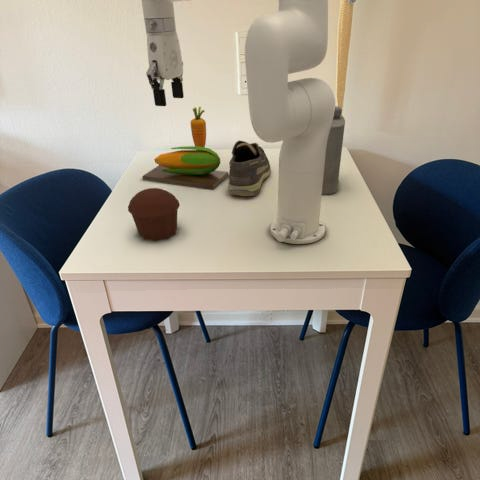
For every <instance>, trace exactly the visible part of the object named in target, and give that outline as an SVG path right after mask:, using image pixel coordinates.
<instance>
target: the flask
mask: <svg viewBox="0 0 480 480" xmlns="http://www.w3.org/2000/svg"><path fill="white" fill-rule="evenodd" d="M342 113H343V108H342V107H341V106H337V105H335V111H334V117H333V121H332V124H331V128H330V131H329V136H328V140H327V147H326V155H325V165H324V174H323V185H322V195H333V194H335V193H337V191H338V185H339V177H340V170H341V160H342V151H343V145H344V144H343V143H344V134H345V128H346V127H345V125H346V119H345V117H344V116H343V115H342Z"/></svg>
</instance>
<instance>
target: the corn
mask: <svg viewBox="0 0 480 480" xmlns="http://www.w3.org/2000/svg"><path fill="white" fill-rule="evenodd" d="M170 150H176V151H170V152H166V153H161V154H159V155H158V156H156V157H155V158H153V161H154V163H155V164H157V166H159V165H161V166H163V167H166V168H170V169H163V170H162V171H164V172H168V173H172V174H181V175H207V174H209V173H211V172H213V171H215V170H216V171H217V169H219V167H220V165H221V158H220V155H218V153H217V152H215V151H214V150H212V148H208V147H206V146H205V147H200V146H195V145H193V146H192V145H191V146H176V147H171V148H170Z"/></svg>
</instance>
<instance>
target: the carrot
mask: <svg viewBox="0 0 480 480" xmlns="http://www.w3.org/2000/svg"><path fill="white" fill-rule="evenodd" d="M192 112H193V114H194V118H192V119H191V120H190V131H191V137H192V141H193V146H200V147H205V148H206V144H207V143H206V142H207V122H206V120H205V119H204V118H203V117H202V115H203V113H205V110H204V109H202V107H201V106H198V109H197V107H196V106H194V107H193V108H192Z"/></svg>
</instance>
